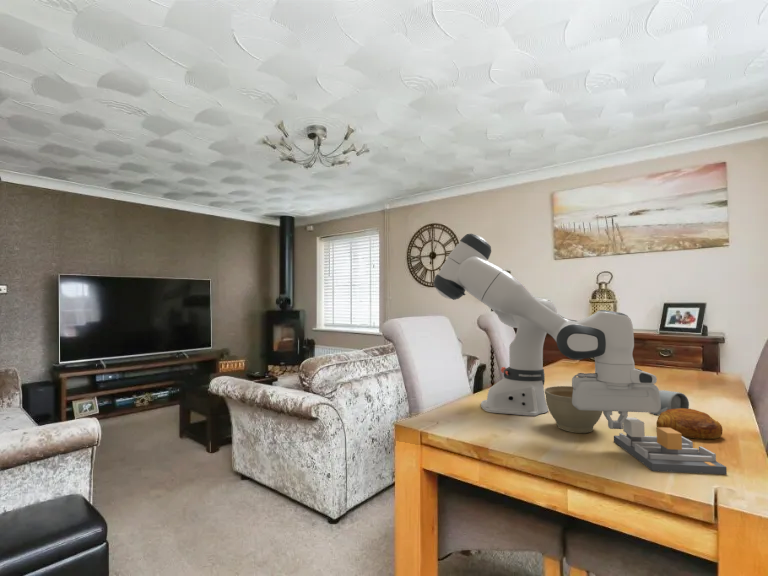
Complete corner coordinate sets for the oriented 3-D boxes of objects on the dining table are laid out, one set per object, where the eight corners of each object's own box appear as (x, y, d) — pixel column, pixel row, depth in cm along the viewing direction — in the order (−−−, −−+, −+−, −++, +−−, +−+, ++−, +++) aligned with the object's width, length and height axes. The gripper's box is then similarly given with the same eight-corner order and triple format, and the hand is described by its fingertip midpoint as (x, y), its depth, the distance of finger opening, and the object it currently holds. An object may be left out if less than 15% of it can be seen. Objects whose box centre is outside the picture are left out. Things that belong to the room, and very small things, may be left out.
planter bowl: (537, 420, 127) (537, 385, 128) (589, 420, 127) (588, 386, 127) (557, 437, 111) (557, 397, 112) (617, 438, 111) (616, 398, 111)
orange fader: (667, 458, 92) (667, 433, 92) (657, 450, 96) (656, 427, 96) (682, 458, 91) (681, 433, 92) (670, 451, 96) (670, 427, 96)
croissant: (730, 452, 106) (735, 422, 106) (662, 437, 111) (666, 409, 111) (705, 433, 120) (709, 407, 120) (645, 421, 125) (649, 396, 125)
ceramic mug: (667, 409, 141) (666, 387, 141) (690, 415, 133) (689, 392, 133) (642, 411, 138) (641, 389, 139) (663, 418, 130) (662, 394, 131)
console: (652, 470, 89) (652, 456, 89) (613, 441, 108) (613, 429, 108) (726, 474, 87) (726, 459, 87) (674, 443, 106) (673, 431, 106)
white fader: (631, 444, 100) (631, 422, 100) (623, 439, 105) (623, 417, 105) (644, 445, 100) (644, 422, 100) (635, 439, 104) (635, 417, 104)
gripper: (576, 374, 101) (577, 430, 101) (663, 376, 99) (665, 434, 98) (567, 370, 108) (568, 423, 107) (650, 372, 105) (651, 426, 105)
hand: (615, 428), depth 103 cm, fingers closed
